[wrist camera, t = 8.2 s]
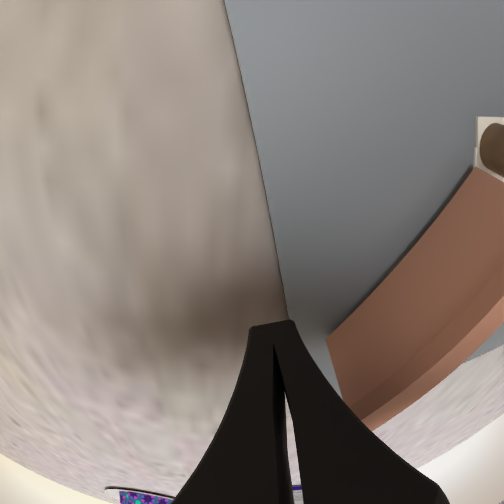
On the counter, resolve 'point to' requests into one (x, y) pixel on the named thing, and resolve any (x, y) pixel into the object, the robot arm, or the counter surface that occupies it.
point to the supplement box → (297, 494)
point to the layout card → (363, 136)
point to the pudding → (137, 497)
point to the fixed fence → (493, 148)
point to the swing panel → (426, 308)
